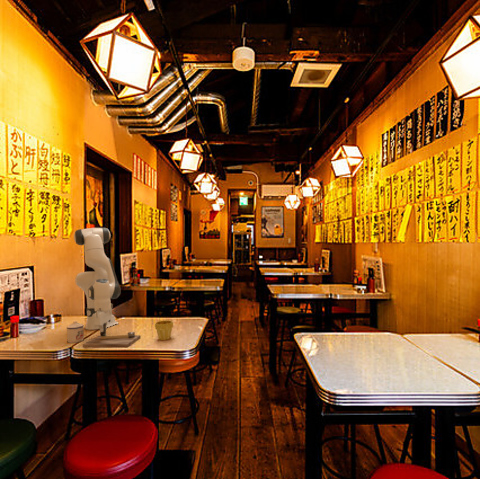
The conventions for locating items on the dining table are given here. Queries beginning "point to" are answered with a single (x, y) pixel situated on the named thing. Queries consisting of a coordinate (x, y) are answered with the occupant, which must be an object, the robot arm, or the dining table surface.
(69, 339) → the teacup with lid
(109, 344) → the lever board
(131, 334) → the lever
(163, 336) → the plant pot
